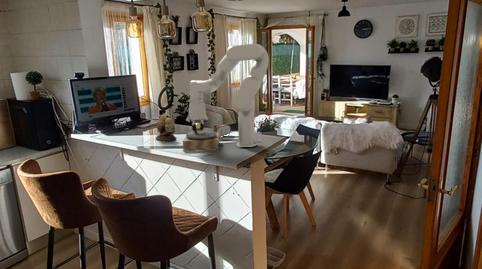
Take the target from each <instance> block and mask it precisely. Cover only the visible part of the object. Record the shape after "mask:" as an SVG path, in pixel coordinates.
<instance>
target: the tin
mask: <svg viewBox="0 0 482 269" xmlns="http://www.w3.org/2000/svg"><path fill="white" fill-rule="evenodd" d="M231 130H232V129H231V126H230V125H229V124H226V123H224V124H223V123H222V124H219V125H216V126H215V127H214V129H213V131H214V132H216V133H219V137H221V136H224V135H227V134H229V135H231Z"/></svg>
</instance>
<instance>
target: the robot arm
mask: <svg viewBox="0 0 482 269" xmlns="http://www.w3.org/2000/svg"><path fill="white" fill-rule="evenodd" d="M253 60H254V61H253ZM241 61H253V64H252V66H251V69H250V71H249V74H248V76H247V77H245V79H243V81H242V82H241V84H240V87H239V89H238V91H237V95H236V97H235V98H234V99H235V100H234V107H235V108H236V110H237V111H238V114H237V115H238V116H237V117H238V118H237V122H238V124H237V125H238V126H237V127H238V142H236V144H235V145H237V146H249V145H253V144H256V143H257V144H262V143H263V139H260V138H258V139H256V138H255V109H256V108H255V105H256V102H255V101H256V100H255V96H256V94H257V92H258V91H259V90H260V89H261V86H262V84H263V81H264V78H265V76H266V73H267V70H268V67H269V62H270V58H269V54H268V52H267V50H266V48H264V46H263V45H261V44H258V43H249V44H248V43H247V44H241V45H239V44H238V45H230V46H229V47H228V48H227V49H226V52H225V55H224V56H223V58H222V59H221V60H220V61H219V63H218V64H217V66H216V70H215V72H214V73H213V75H212V76H211V77H210V78H209V79H207V80H191V81H190V82H189V96H190V98H189V99H188V100H187V102H189V106H188V115H187V117H186V119H185V121H186V122H188V123H190V124H191V130H192V131H195V125H194V123H196V122H195V121H200V123H201V130H205V129H204V124H205V122H207V121H208V120H209V119H210V117H209V116H208V115H207V111H206V104H205V103H204V94H210V93H213V92H215V91H217V90H218V89H219V87H220V86H221V85H222V84H223V82H225V80H226V79H227V77H228V76H229V74H231V72H232V71H233V70H234V69H235V68H236V66H238V64H239V63H240V62H241ZM237 146H236V147H237Z"/></svg>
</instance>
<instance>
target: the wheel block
mask: <svg viewBox="0 0 482 269" xmlns="http://www.w3.org/2000/svg"><path fill="white" fill-rule="evenodd" d="M218 144H220V138H219V133H216V137H214V138H210V139H189V138H187V137H186V135H185V136H184V138H183V139H182V151H183V152H193V151H194V152H197V151H196V150H209V151H214V150H213V149H218V150H219V146H218Z"/></svg>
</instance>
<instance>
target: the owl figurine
mask: <svg viewBox="0 0 482 269" xmlns="http://www.w3.org/2000/svg"><path fill="white" fill-rule="evenodd" d="M156 129H157V132H158V133H159V134H158V135H156V136H155V140H156V141H158V142H162V141H165V142H166V143H167V142H168V143H169V142H172V141H173V142H174V141H177V140H176V139H178V138H177V137H176V136H175V135H174V134H175V133H176V130H175V129H176V127H175V124H174V122H173V118H172V117H167V114H165V113H164V114H161V116H160V117H159V118H158V120H157V121H156ZM165 142H164V143H165Z"/></svg>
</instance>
